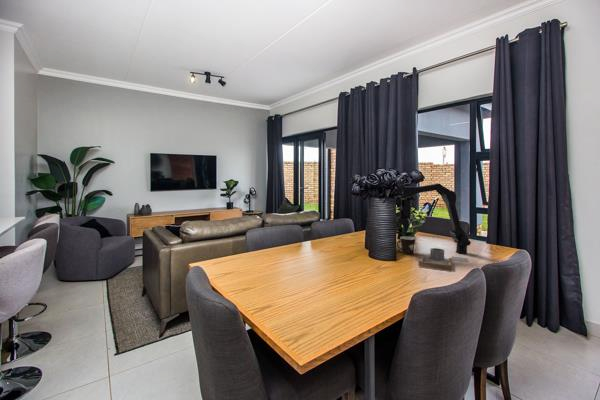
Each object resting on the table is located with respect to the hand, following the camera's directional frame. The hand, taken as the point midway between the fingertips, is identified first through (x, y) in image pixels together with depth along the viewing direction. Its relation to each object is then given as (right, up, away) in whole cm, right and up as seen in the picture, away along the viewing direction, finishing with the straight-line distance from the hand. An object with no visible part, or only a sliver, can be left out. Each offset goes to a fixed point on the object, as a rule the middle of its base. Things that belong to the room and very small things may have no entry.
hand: (405, 233), depth 173 cm
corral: (+8, -15, -21) cm, 27 cm away
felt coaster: (+26, -14, -12) cm, 32 cm away
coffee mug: (0, -13, +1) cm, 13 cm away
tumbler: (+14, -14, -11) cm, 23 cm away
